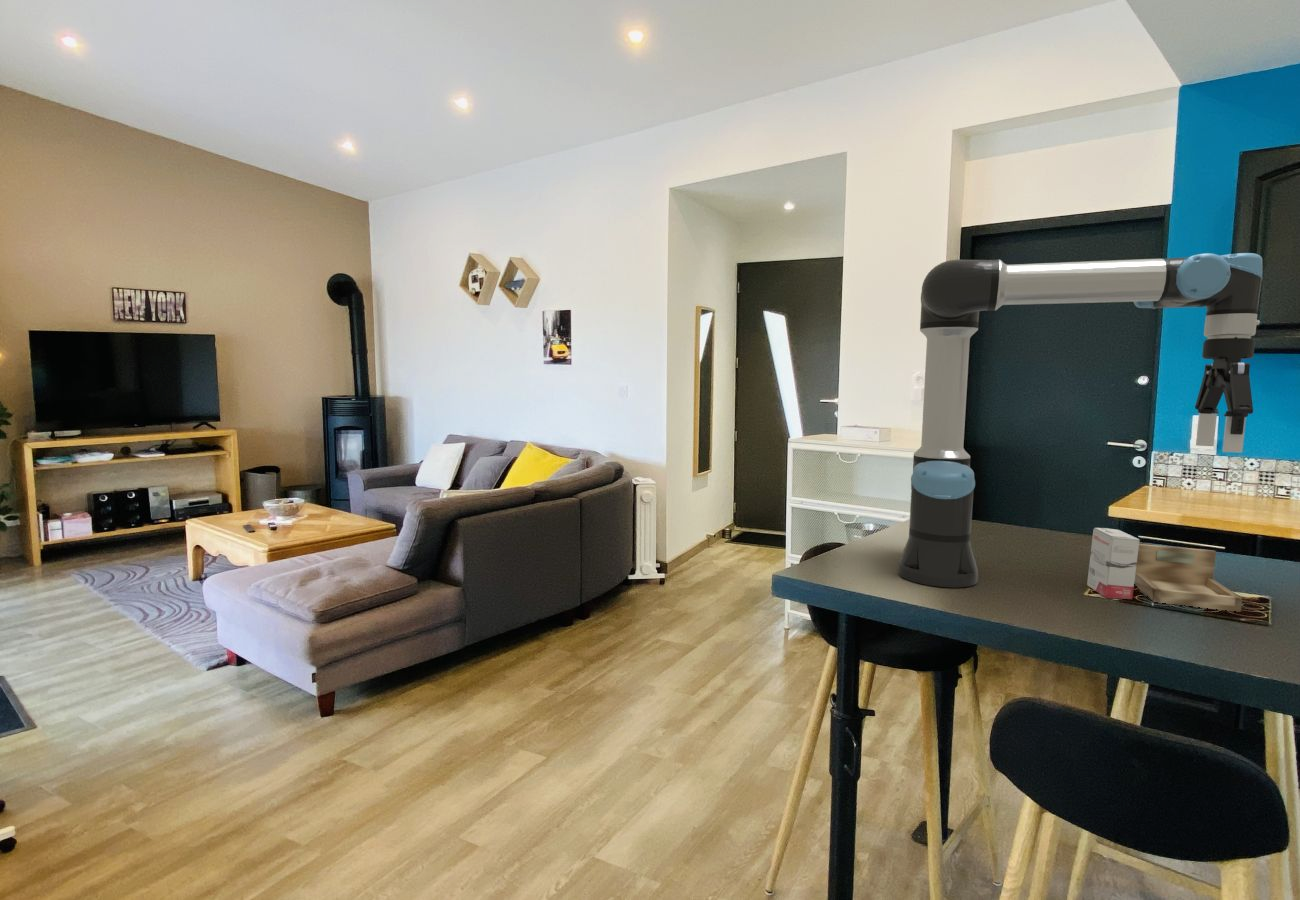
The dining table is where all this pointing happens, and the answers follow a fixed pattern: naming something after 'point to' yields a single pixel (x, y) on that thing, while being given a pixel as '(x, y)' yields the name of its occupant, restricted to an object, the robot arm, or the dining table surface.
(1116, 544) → the ink box
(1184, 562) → the drawer
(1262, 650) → the dining table surface
